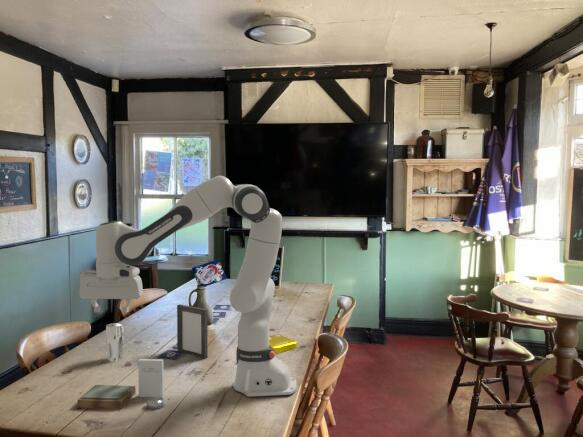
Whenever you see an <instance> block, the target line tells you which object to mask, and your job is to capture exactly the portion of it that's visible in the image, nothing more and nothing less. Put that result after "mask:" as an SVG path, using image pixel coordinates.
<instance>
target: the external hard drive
mask: <svg viewBox="0 0 583 437" xmlns="http://www.w3.org/2000/svg"><path fill="white" fill-rule="evenodd" d="M164 372H165V371H164V359H161V358H159V359H158V358H157V359H154V358H140V359H138V397H139V398H154V397H160V398H164V396H165V394H164V384H165V383H164V378H165V377H164Z"/></svg>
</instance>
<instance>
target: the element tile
mask: <svg viewBox="0 0 583 437" xmlns="http://www.w3.org/2000/svg"><path fill="white" fill-rule="evenodd" d="M269 346H271V347H272V348H273V346H274V349H275V355H277V354H281V353H284V352H288V351H292V350H295V349H297V348H298V341H296V340H295V339H291V338H288V336H285V335H282V334H280V333H279V334H273V335H269Z"/></svg>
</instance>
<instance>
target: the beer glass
mask: <svg viewBox="0 0 583 437" xmlns="http://www.w3.org/2000/svg"><path fill="white" fill-rule="evenodd" d="M105 326H106V327H105V342H106V348H107V352H108V354H107V355H108V356H107V362H109V363H118V362H120V361H123V359H124V356H123V347H124V342H125V328H124V323H121V322H115V323H114V322H113V323H109V324H106V325H105Z"/></svg>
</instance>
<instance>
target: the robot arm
mask: <svg viewBox="0 0 583 437" xmlns="http://www.w3.org/2000/svg"><path fill="white" fill-rule="evenodd" d="M226 208H232V209H233V210H234V211H235V212H236V213H237V214H238V215H240V216H241V217H243V218H244V219H247V220H249V221H250V230H249V234H248V235H249V236H248V239H247V243H246V244H247V245H246V249H245V252H244V253H245V254H244V258H243V261H242V264H241V267H240V270H239V271H238V272H239V273H238V275H237V277H236V280H235V284H234V286H233V288H231V289H232V290H231V291H230V295H229V302H230V304H231V307H232V308H233V309H234V310H235V311H237V312H239V313H240V318H239V321H238V324H237V347H236V351H235V352H236V353H235V355H236V356H235V357H236V359H235V360H236V364H237V365H236V371H235V377H234V383H233V385H232V388H233V389H234V390H235V391H237V392H239V393H242V394H244V395H245V396H246V397H249V398H251V397H266V396H267V397H270V396H283V395H284V396H286V395H287V396H288V395H291V394H294V393H295V392H296V390H297V388H298V385H297V380H296V379H295V377H292V376H291V373H290V368H289V367H288V365H287V364H286V363H284V362H283V361H281V360H280V359H279V358H277V357H276V354H275V349H274V346H273V348H272V347H271V346H269V336H270V323H271V322H270V321H271V316H272V308H273V303H274V302H273V300H274V294H275V290H276V284H275V282H274V280H273V279H272V278H271V275H272V273H273V270H274V268H275V266H276V263H277V259H278V252H279V249H280V243H281V239H282V231H283V216H282V214H281V213H280V212H279V211H278V210H276V209H274V208H271V207H270V205H269V201H268V198H267V197H266V194H265V192H264V191H263V190H262V189H261V188H259V187H258V186H257V185H253V184H250V183H249V184H248V183H240V184H238V183H237V184H233V183H232V181H230V179H229V178H228V177H226V176H224V175H217V176H214V177H211V178H209V179H207V180H205V181H203V182H202V183H199V184H198V185H196V186H195V187H193V188H192V189H190V190H189V191H188V192H187V193H185V194H184V195H183V196H182V197H181V198H180V199H179V200H177V202H176V203H175V204H174V205H173V206H172V207H171V208H170V209H169V211H168V212H166V213H165V214H164V215H163V216H161V217H160V218H158V219H157V220H155V221H153V222H152V223H150V224H149V225H147V226H146V227H143V228H142V229H137V228H134V227H132V226H129V225H128V224H126V223H124V222H122V221H121V220H113V221H107V222H103V223H100V224H99V225H98V226H97V228H96V230H95V231H96V233H95V250H96V260H95V269H93V270H91V269H90V270H87V269H86V270H83V271H82V272H81V273H80V275H79V282H80V284H79V291H78V292H79V295H78V296H79V297H80V299H82V300H90V303H91V305H92V306H93V309H94V310H93V312H94V313H101V312H102V311H101V309H102V306H101V305H99V304H98V302H97V301H98V300H125V303H126V304H125V305H124V306H123V307H121V309H122V311H121V312H122V313H129V312H130V305H131V304H132V302H133V300H138V299H140V298H141V297H142V296H143V294H144V289H143V288H144V287H143V281H142V278H141V277H140V275H139V274H140V272H141V271H140V268H139V267H136V266H135V265H140V264H141V263H143V261H144V260H145V259H146V258H147V257H148V256H150V254H151V253H152V252H153V250H154V248H155V246H156V245H158V244H159V243H161V242H163V240H165V239H167V238H168V237H170V236H172V235H173V234H175V233H176V232H178V231H180V230H183V229H185V228H188V227H191V226H194V225H196V224H199V223H202V222H204V221H206V220H207V219H209V218H211V217H212V216H214V215H216V213H218V212H220V211H221V210H223V209H226Z"/></svg>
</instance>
